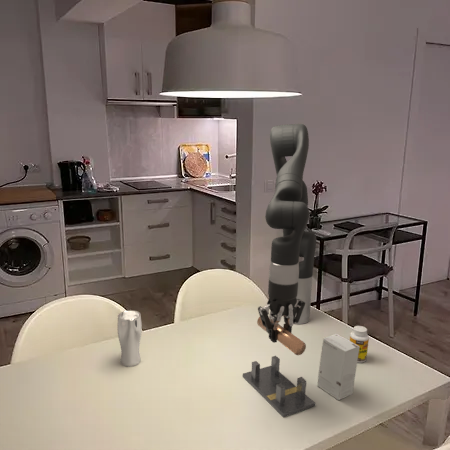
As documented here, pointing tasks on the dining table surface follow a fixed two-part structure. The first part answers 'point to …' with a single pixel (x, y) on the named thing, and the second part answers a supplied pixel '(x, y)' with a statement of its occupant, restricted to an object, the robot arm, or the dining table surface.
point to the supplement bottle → (360, 341)
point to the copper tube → (286, 339)
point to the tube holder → (279, 388)
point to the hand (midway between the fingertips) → (279, 339)
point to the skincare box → (338, 366)
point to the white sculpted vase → (129, 337)
